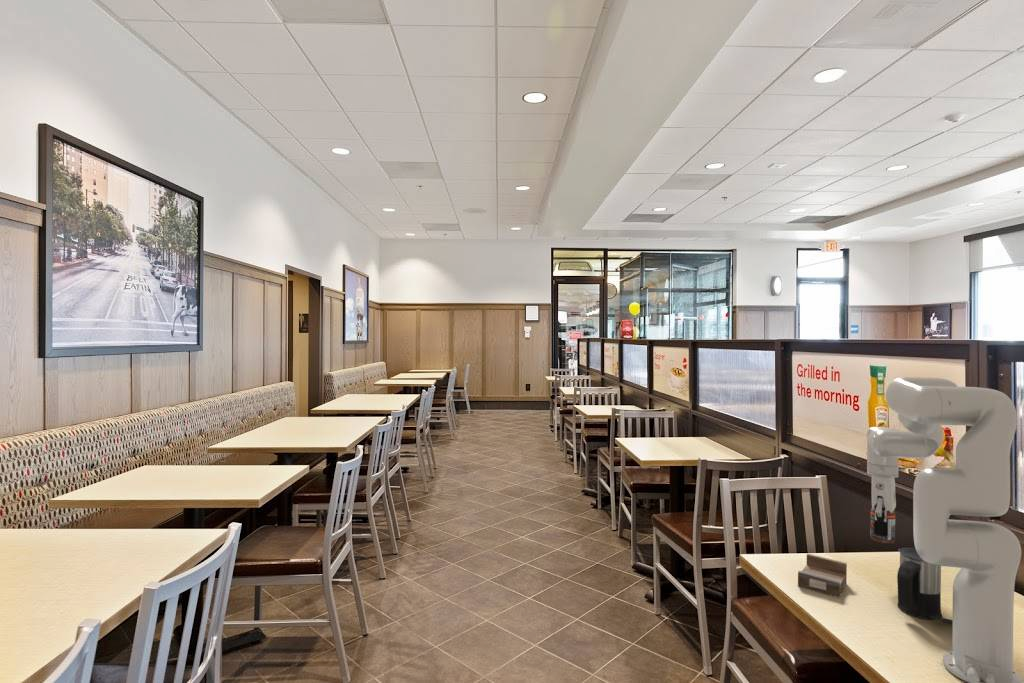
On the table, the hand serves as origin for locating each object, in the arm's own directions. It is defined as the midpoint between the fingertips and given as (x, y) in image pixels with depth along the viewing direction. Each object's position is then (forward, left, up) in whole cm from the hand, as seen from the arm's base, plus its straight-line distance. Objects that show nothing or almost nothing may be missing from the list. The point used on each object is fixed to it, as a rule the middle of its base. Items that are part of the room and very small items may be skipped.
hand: (882, 531), depth 155 cm
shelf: (-15, +12, -14) cm, 24 cm away
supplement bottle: (0, 0, -3) cm, 3 cm away
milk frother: (-17, -13, -14) cm, 26 cm away
